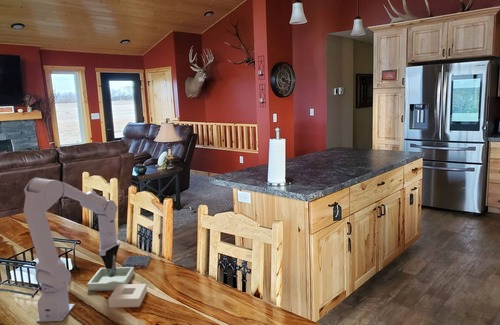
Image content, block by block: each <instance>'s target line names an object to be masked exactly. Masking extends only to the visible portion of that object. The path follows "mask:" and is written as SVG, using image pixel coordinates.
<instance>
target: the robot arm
mask: <svg viewBox="0 0 500 325" xmlns="http://www.w3.org/2000/svg"><path fill="white" fill-rule="evenodd" d="M23 191H24V195H25V199H24V205H23V215H24V218H25V221H26V224H27V228H28V230H29V235H30V237H31V241H32V244H33V247H34V250H35V253H36V256H37V260H38V262H37V263H36V264H35V275H34V276H35V280H36V282H37V283H38V284H40V288H41V295H40V297H39V299H38V300H37V312H38V318H36V322H37V323H39V322H40V323H41V322H42V323H43V322H47V323H48V322H62V321H63V320H64V319H65V318H66V317H67V316H68V314H69V313H70V312H71V311H72V310H73V308H74V307H75V303H70V299H69V292H68V290H69V289H68V286H69V284H70V283H71V279H72V273H71V271H70V270H69V269H68V268H67V266H66V264H65V262H64V261H63V260H62V259H61V258H60V257H59V254H58V251H57V249H56V244H55V242H54V238H53V233H52V231H51V228H50V224H49V220H48V217H47V214H46V213H47V211H48V210H49V209H50V208H52V207H53V205H54V204H56V203H57V202H58V201H59V199H61V197H62V198H65V197H67V198H69V199H71V200H75V201H78V202H79V204H80V206H81V207H82V208H85V209H87V210H89V211H91V212H93V213H94V214H95V215H97V219H98V230H99V232H98V233H99V240H100V241H99V249H98V250H99V251H98V256H99V257H100V258H101V259H102V262H103V264H104V268H106V269H112V266H113V256H114V255H115V262H116V261H117V256H118V251H119V248H120V246H121V241H119V236H118V235H117V229H116V228H117V226H116V218H117V212H118V210H119V209H118V208H119V206H118V205H117V204H116V201H114V200H111V199H107V198H106V196H104V195H102V196H100V195H99V194H97V192H96V191H95V190H89V191H88V190H87V191H85V192H84V191H82V190H79V189H78V188H76V187H74V186H73V185H71V184H69V183H67V182H64V181H60V180H57V179H48V178H41V177H34V178H32V179H30V180H29V181H28V182H27V184H26V186H25V187H24V188H23ZM116 263H117V262H116Z"/></svg>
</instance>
